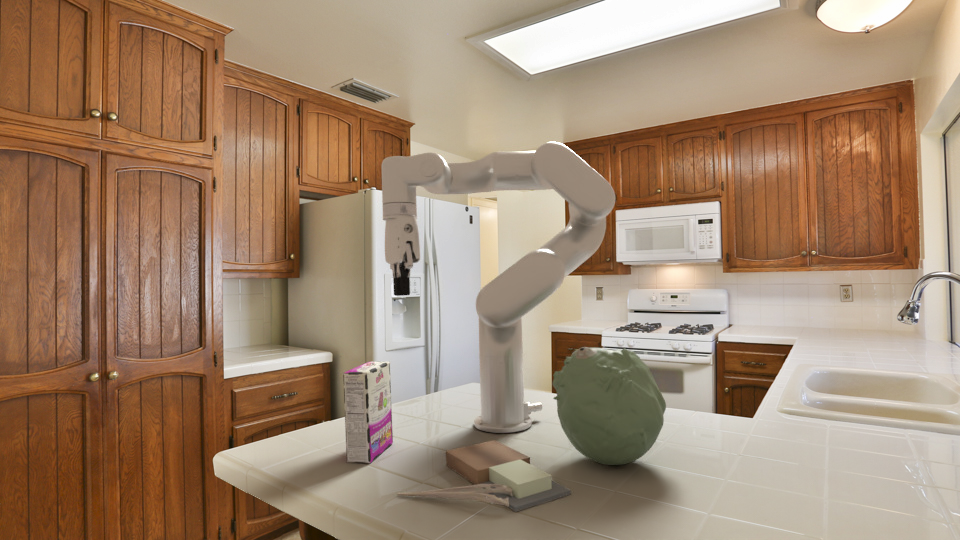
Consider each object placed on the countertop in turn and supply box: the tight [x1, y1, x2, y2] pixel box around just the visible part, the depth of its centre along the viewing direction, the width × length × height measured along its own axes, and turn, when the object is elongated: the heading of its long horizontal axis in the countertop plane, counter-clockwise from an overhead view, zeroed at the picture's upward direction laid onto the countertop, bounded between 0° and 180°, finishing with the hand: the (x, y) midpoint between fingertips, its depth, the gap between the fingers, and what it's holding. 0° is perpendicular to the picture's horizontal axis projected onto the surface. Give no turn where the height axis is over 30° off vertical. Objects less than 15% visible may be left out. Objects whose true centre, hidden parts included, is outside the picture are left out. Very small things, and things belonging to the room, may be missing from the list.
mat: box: [480, 479, 572, 513], centre depth 75 cm, size 10×10×1 cm
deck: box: [445, 439, 531, 485], centre depth 85 cm, size 10×11×2 cm
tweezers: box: [396, 484, 513, 508], centre depth 73 cm, size 18×5×2 cm, turn 75°
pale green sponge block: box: [489, 460, 552, 499], centre depth 76 cm, size 6×8×2 cm
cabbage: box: [552, 346, 667, 466], centre depth 86 cm, size 16×19×20 cm
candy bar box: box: [342, 360, 394, 464], centre depth 94 cm, size 11×5×16 cm, turn 168°
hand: (401, 295), depth 111 cm, fingers closed
